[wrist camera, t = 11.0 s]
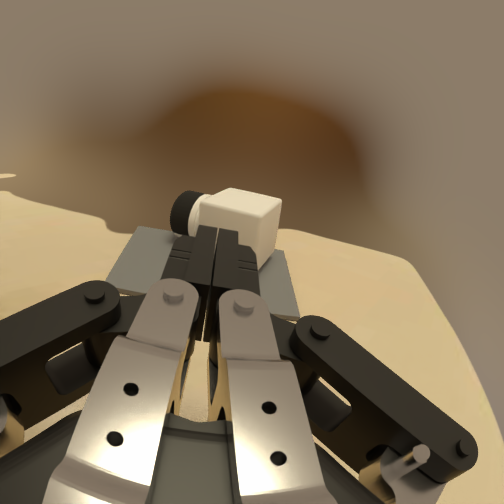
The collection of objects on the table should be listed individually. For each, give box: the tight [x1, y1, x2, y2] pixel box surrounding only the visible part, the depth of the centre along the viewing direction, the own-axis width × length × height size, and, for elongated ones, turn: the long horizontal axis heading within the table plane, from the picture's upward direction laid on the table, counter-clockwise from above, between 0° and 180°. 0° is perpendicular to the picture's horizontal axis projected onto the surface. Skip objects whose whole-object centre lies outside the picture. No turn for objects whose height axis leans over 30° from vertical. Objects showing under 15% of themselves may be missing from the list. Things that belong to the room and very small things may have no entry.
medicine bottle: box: [170, 188, 282, 270], centre depth 34 cm, size 7×7×12 cm
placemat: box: [105, 226, 300, 321], centre depth 33 cm, size 20×13×1 cm, turn 93°
